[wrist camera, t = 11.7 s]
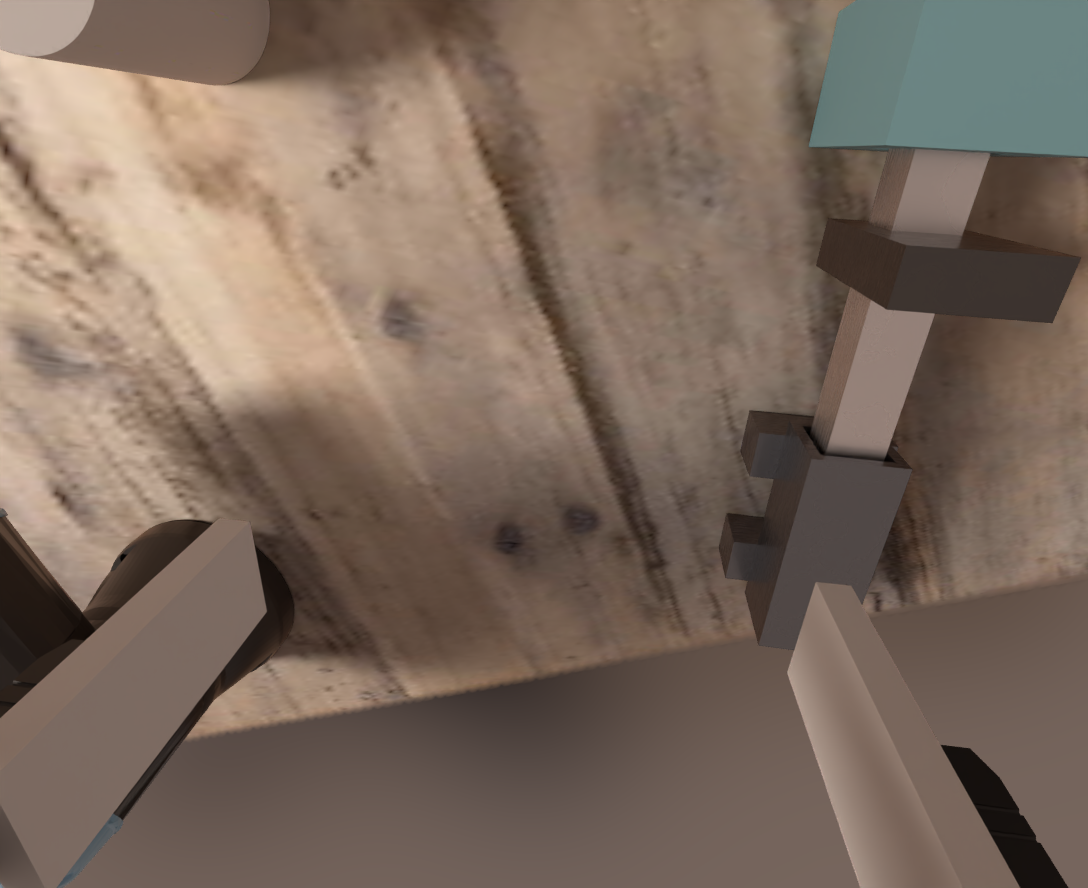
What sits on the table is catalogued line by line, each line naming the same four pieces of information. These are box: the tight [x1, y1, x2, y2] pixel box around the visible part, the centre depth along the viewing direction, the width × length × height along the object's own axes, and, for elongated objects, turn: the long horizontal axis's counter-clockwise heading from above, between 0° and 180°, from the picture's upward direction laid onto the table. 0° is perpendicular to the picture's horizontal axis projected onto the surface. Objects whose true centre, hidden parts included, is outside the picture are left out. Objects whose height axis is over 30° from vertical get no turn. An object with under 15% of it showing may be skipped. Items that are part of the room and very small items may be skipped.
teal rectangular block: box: [809, 0, 1088, 158], centre depth 26 cm, size 6×8×11 cm
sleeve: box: [719, 411, 913, 650], centre depth 38 cm, size 13×8×8 cm, turn 177°
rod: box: [809, 148, 1081, 462], centre depth 29 cm, size 25×6×10 cm, turn 177°
